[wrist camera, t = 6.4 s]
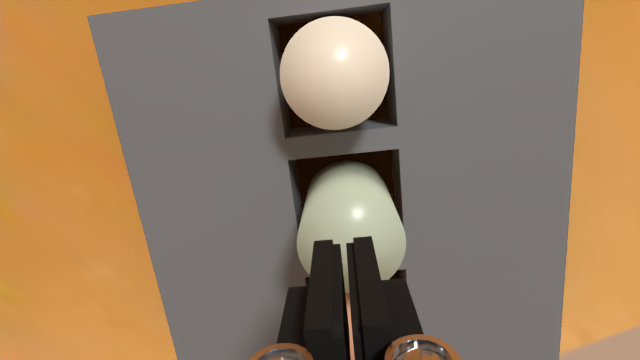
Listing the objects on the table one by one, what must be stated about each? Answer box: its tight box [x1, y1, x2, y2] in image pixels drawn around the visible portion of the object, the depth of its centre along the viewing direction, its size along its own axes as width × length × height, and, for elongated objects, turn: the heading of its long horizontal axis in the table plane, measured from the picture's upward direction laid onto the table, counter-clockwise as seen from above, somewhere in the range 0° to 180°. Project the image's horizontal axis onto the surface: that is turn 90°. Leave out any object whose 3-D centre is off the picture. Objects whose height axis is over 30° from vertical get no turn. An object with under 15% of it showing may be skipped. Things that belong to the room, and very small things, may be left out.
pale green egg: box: [297, 160, 406, 293], centre depth 16 cm, size 4×4×5 cm
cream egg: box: [280, 16, 389, 130], centre depth 16 cm, size 4×4×5 cm
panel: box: [87, 0, 584, 360], centre depth 19 cm, size 20×19×3 cm
